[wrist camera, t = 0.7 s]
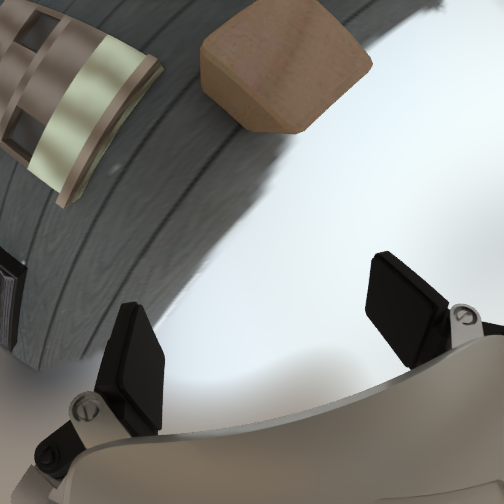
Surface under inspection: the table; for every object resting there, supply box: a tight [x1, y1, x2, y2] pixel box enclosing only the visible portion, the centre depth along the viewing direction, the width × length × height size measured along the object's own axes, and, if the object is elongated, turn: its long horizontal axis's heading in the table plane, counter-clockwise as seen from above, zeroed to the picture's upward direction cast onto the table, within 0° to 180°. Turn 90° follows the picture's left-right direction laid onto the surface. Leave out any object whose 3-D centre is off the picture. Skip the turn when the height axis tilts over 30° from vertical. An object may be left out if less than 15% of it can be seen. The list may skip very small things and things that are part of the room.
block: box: [200, 0, 373, 134], centre depth 23 cm, size 10×10×20 cm
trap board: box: [0, 0, 164, 209], centre depth 21 cm, size 22×40×6 cm, turn 50°
